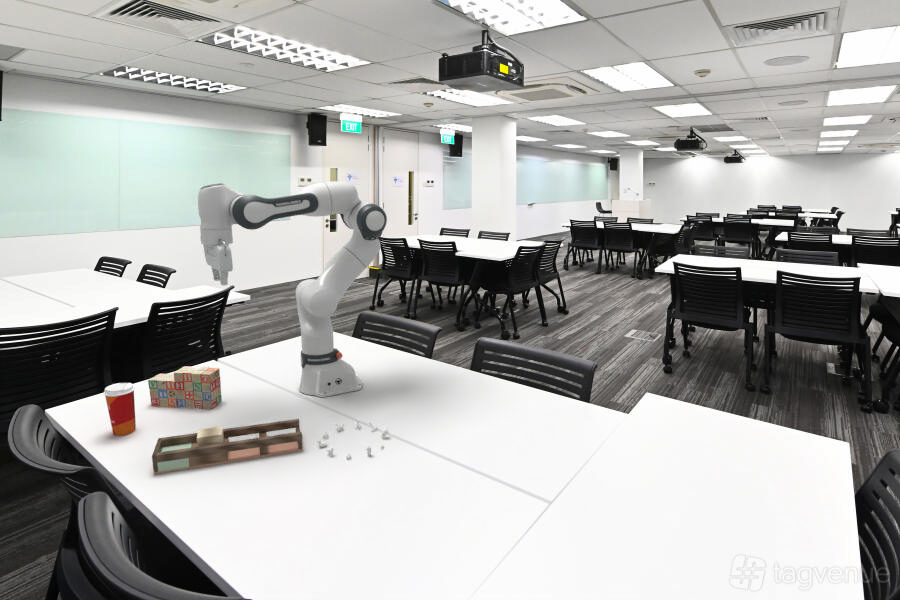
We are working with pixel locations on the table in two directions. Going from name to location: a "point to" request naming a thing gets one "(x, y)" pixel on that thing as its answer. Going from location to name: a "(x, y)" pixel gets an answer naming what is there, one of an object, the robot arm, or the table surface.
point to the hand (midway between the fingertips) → (220, 282)
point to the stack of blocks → (187, 388)
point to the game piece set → (368, 448)
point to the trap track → (225, 447)
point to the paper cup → (121, 408)
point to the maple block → (210, 436)
